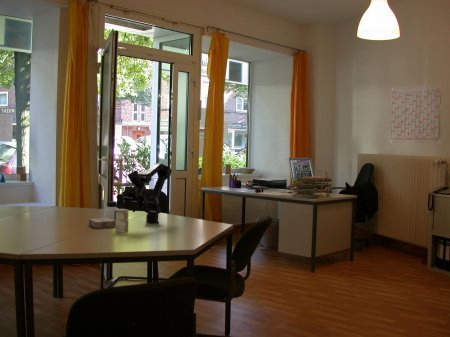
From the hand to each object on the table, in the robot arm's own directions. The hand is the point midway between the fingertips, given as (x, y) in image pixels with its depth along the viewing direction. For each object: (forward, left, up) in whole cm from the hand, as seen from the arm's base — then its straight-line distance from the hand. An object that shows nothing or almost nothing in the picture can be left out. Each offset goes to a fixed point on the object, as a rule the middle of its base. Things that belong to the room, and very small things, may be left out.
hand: (126, 211), depth 272 cm
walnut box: (+8, -17, -11) cm, 22 cm away
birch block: (+3, +2, -11) cm, 11 cm away
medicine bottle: (-4, -35, -11) cm, 37 cm away
